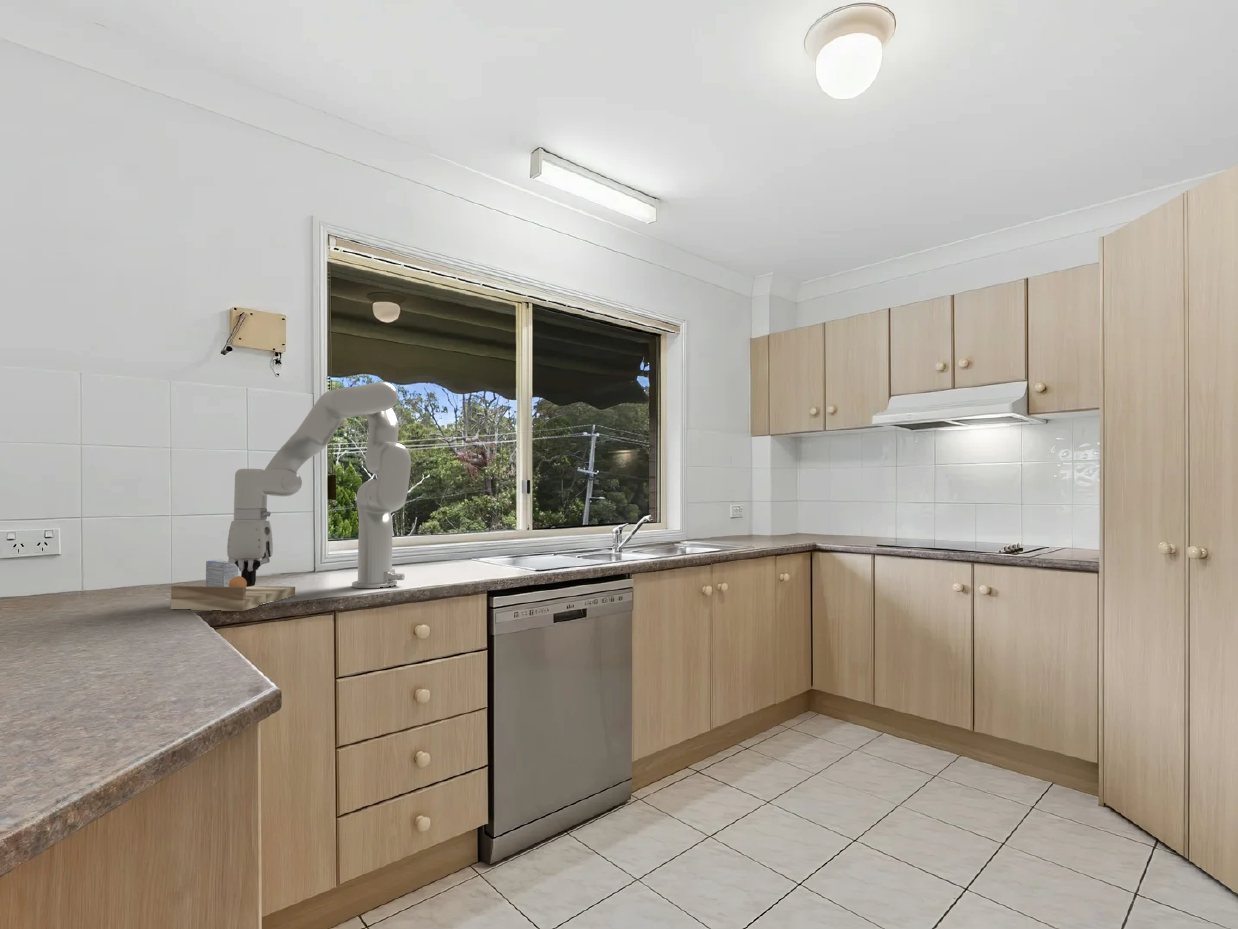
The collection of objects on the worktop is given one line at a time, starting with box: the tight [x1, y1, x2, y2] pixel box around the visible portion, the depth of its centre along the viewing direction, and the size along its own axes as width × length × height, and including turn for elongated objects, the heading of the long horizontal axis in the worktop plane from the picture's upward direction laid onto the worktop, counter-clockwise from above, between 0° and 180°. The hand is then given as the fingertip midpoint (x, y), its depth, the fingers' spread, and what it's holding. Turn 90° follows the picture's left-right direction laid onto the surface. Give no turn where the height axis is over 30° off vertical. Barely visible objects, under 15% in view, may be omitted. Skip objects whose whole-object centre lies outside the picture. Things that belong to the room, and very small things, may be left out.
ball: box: [229, 575, 247, 587], centre depth 169 cm, size 4×4×4 cm
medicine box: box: [205, 558, 239, 587], centre depth 187 cm, size 8×4×9 cm, turn 65°
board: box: [170, 585, 296, 612], centre depth 169 cm, size 22×18×6 cm
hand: (248, 586), depth 173 cm, fingers closed
